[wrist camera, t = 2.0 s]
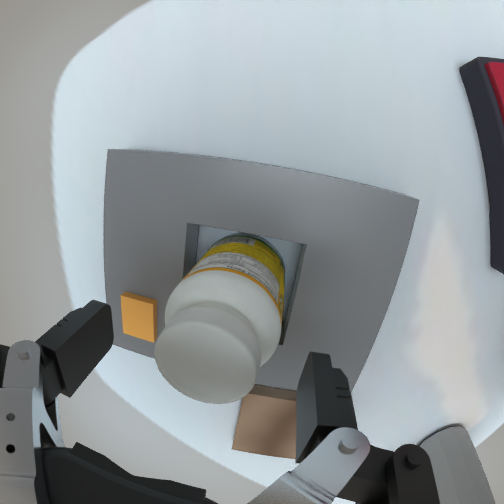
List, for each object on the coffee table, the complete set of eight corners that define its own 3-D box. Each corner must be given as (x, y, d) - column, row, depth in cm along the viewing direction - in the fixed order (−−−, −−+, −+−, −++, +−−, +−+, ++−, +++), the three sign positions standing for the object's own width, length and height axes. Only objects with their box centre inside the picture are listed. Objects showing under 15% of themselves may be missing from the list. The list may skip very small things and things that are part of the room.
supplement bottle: (239, 214, 18) (185, 270, 9) (303, 270, 18) (310, 369, 9) (189, 273, 20) (118, 358, 10) (249, 322, 20) (219, 429, 11)
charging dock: (403, 194, 16) (423, 201, 13) (344, 374, 21) (350, 401, 18) (128, 149, 17) (102, 149, 14) (125, 327, 22) (107, 348, 19)
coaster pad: (351, 397, 21) (353, 406, 20) (319, 452, 24) (320, 460, 23) (246, 382, 22) (243, 392, 21) (233, 440, 25) (231, 449, 24)
